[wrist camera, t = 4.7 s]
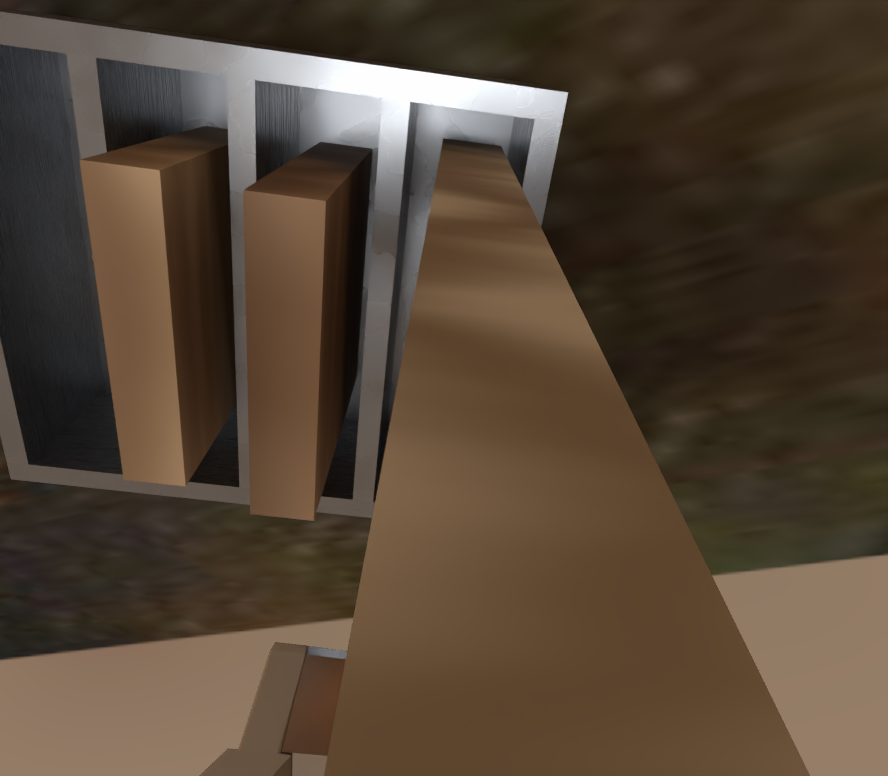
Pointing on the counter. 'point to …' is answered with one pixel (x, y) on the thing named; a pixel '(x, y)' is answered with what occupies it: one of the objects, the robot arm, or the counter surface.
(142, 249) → the oak offcut
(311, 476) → the walnut offcut
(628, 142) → the counter surface
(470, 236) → the birch sheet
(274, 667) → the robot arm
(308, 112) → the rack
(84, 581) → the counter surface
